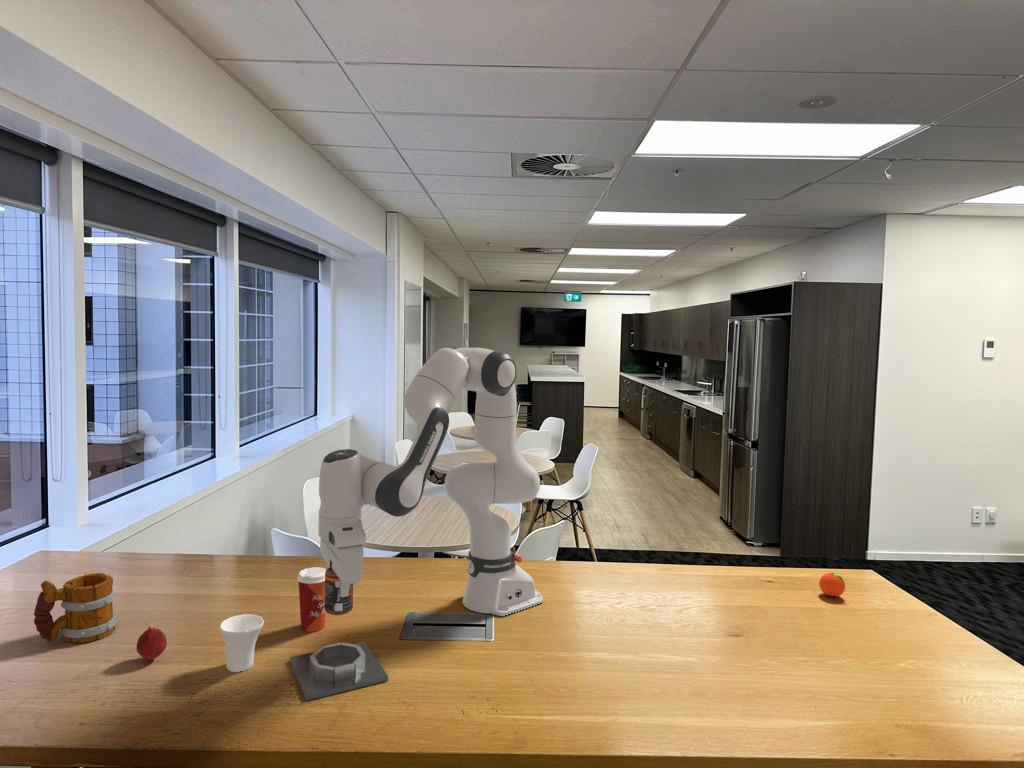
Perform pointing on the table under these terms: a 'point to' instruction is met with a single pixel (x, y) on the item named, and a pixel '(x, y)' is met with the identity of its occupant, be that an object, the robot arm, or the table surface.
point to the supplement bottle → (336, 595)
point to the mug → (77, 609)
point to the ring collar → (336, 669)
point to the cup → (240, 640)
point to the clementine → (832, 584)
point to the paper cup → (312, 598)
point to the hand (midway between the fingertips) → (339, 589)
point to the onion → (151, 643)
